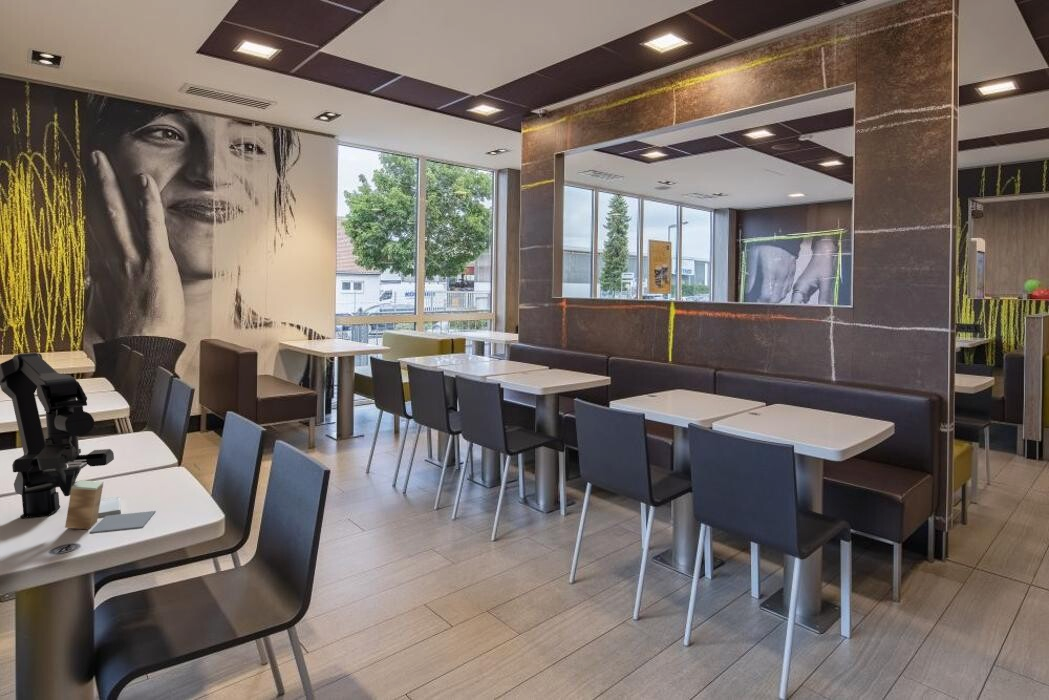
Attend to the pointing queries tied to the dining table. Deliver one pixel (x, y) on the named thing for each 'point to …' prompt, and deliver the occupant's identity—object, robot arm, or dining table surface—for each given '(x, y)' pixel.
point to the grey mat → (123, 522)
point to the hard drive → (109, 507)
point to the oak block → (84, 504)
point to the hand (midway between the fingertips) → (67, 495)
